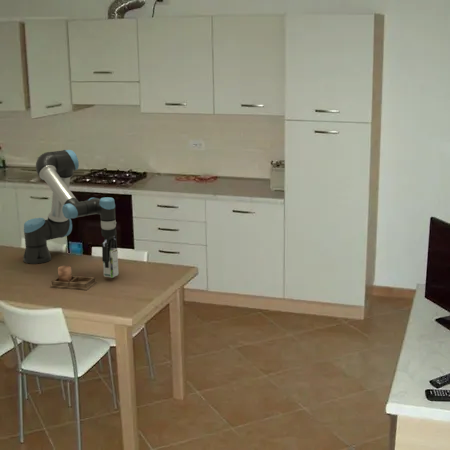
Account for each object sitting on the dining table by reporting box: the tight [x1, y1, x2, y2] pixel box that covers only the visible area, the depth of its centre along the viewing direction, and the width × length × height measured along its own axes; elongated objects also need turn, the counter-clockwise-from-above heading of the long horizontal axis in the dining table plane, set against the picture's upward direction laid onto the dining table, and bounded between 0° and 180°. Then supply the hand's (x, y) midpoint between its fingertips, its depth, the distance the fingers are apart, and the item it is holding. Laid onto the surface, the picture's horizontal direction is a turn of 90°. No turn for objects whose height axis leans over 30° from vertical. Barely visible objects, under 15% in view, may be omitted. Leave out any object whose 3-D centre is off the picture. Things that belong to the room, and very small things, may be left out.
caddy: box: [49, 265, 98, 291], centre depth 350 cm, size 20×12×9 cm, turn 75°
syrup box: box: [102, 247, 120, 279], centre depth 358 cm, size 6×6×14 cm
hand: (110, 270), depth 359 cm, fingers closed on syrup box, 7 cm apart
